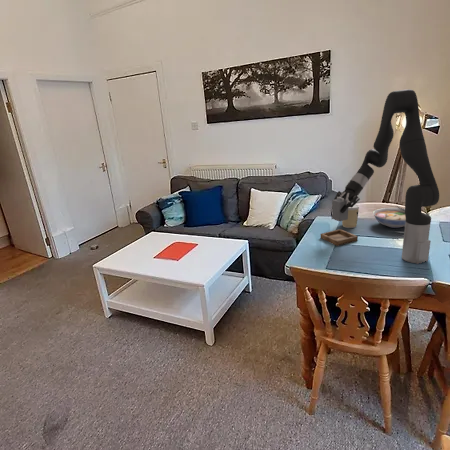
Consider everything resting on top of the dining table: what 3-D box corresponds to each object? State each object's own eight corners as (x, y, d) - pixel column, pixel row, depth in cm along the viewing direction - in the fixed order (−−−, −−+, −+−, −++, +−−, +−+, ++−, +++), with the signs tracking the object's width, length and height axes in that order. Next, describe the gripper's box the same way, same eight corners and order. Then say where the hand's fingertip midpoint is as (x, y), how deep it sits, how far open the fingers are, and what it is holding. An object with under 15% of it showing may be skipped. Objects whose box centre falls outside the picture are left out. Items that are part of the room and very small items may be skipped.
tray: (357, 240, 165) (357, 236, 164) (337, 246, 160) (337, 241, 160) (339, 233, 176) (340, 229, 175) (320, 238, 172) (320, 233, 171)
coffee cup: (360, 227, 181) (361, 207, 178) (343, 228, 182) (344, 208, 178) (354, 222, 190) (355, 203, 186) (338, 223, 191) (339, 204, 187)
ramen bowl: (364, 220, 193) (365, 207, 190) (404, 217, 191) (405, 204, 188) (382, 235, 169) (383, 220, 166) (427, 232, 167) (429, 217, 165)
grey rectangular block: (347, 219, 163) (348, 197, 159) (339, 221, 161) (339, 199, 158) (340, 216, 168) (341, 195, 164) (331, 218, 166) (332, 197, 163)
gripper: (342, 177, 167) (323, 203, 167) (363, 182, 155) (342, 210, 154) (350, 186, 171) (331, 211, 171) (371, 190, 158) (351, 218, 158)
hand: (337, 210), depth 163 cm, fingers closed on grey rectangular block, 5 cm apart
